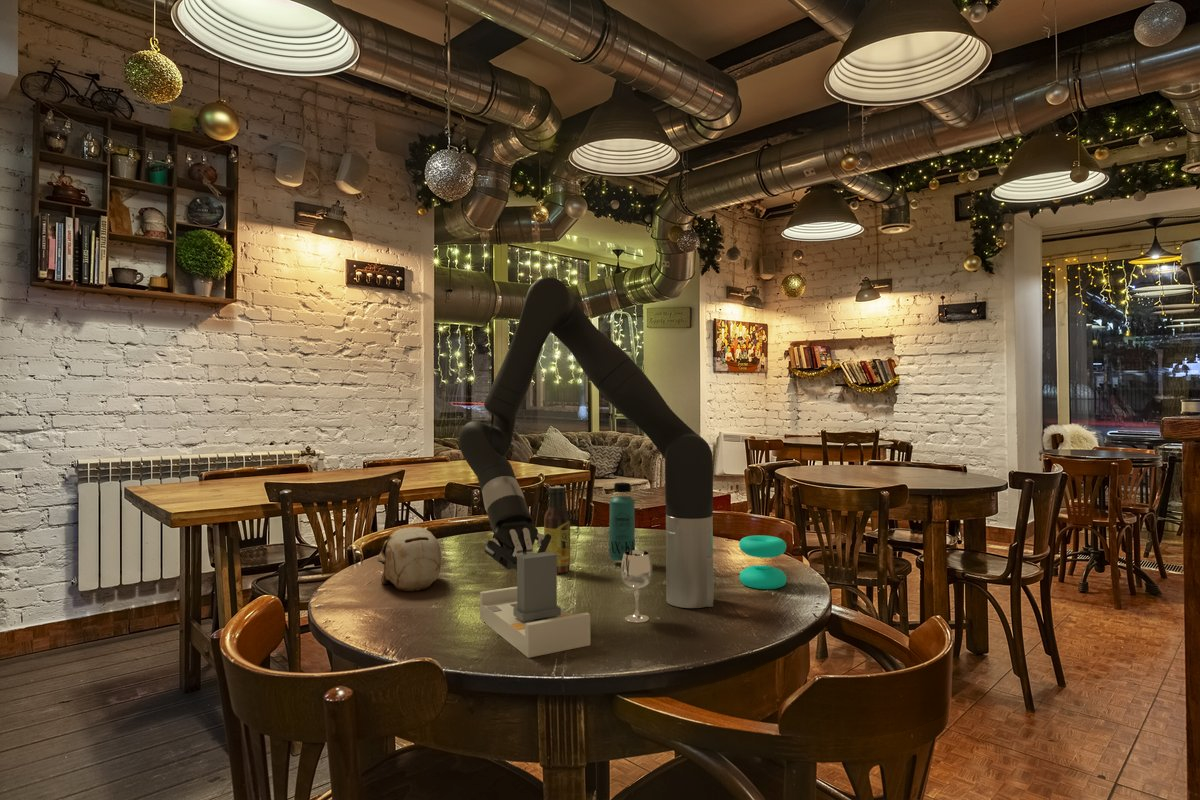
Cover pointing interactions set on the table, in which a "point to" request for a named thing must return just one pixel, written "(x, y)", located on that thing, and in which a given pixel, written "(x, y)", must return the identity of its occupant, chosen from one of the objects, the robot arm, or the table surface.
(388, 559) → the coin bank
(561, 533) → the sauce bottle
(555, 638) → the tray
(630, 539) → the beverage bottle
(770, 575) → the donuts
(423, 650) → the table surface
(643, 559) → the wineglass
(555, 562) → the switch tab
